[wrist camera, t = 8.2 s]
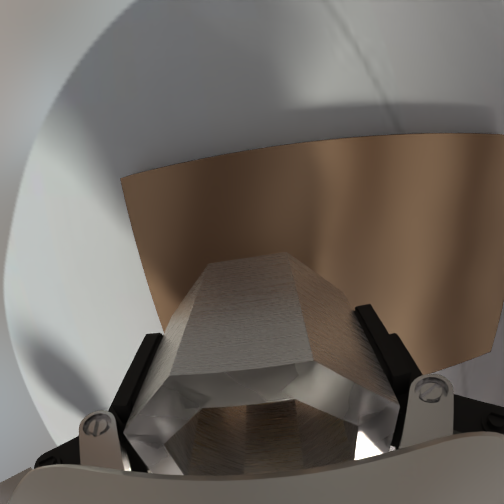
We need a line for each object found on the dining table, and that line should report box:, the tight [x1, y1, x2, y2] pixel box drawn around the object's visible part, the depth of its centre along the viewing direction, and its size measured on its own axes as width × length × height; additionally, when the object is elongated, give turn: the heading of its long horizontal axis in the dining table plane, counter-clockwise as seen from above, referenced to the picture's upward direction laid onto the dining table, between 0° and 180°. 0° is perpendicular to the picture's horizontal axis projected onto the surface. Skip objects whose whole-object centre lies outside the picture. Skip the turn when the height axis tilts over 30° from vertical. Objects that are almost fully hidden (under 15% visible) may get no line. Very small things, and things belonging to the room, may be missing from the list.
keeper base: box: [120, 133, 504, 405], centre depth 12 cm, size 20×14×7 cm
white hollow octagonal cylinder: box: [123, 252, 400, 476], centre depth 10 cm, size 7×7×6 cm
